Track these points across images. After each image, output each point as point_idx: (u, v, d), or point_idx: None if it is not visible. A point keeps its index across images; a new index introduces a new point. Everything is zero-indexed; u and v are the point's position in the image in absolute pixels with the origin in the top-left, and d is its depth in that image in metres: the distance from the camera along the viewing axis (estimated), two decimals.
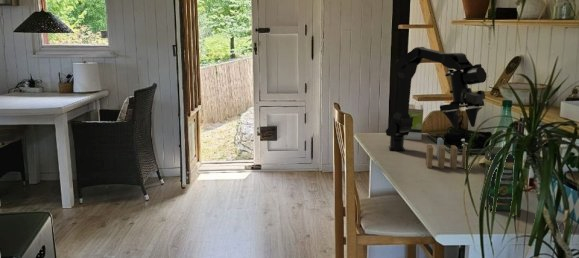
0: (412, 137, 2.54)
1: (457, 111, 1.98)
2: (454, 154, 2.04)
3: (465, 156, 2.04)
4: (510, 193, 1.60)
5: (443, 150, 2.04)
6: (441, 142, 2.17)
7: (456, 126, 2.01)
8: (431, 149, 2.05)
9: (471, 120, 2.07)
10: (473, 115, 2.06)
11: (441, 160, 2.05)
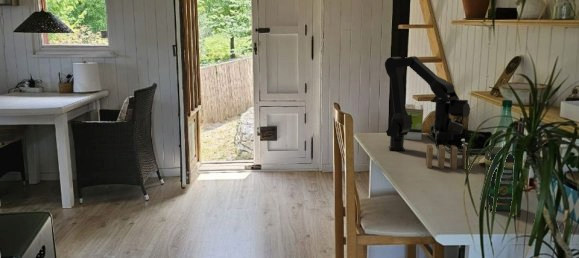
0: (412, 137, 2.54)
1: None
2: (453, 154, 2.04)
3: (465, 156, 2.04)
4: (510, 193, 1.60)
5: (443, 150, 2.04)
6: None
7: None
8: (431, 149, 2.05)
9: None
10: None
11: (441, 160, 2.05)
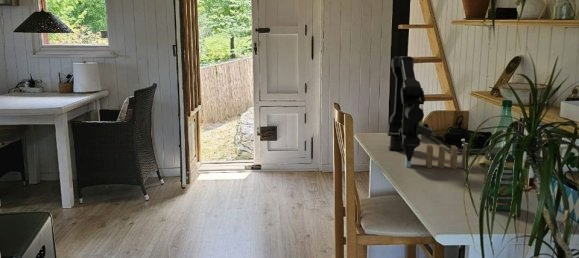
0: None
1: None
2: (454, 154, 2.04)
3: (465, 156, 2.04)
4: (510, 193, 1.60)
5: (443, 150, 2.04)
6: None
7: (410, 158, 2.04)
8: (431, 149, 2.05)
9: None
10: None
11: (441, 160, 2.05)
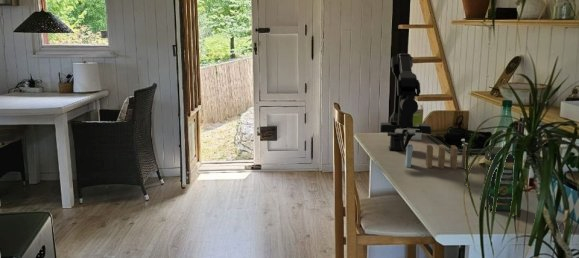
0: (412, 137, 2.54)
1: None
2: (454, 154, 2.04)
3: (465, 156, 2.04)
4: (510, 193, 1.60)
5: (443, 150, 2.04)
6: (410, 148, 2.05)
7: None
8: (431, 149, 2.05)
9: (404, 144, 2.08)
10: None
11: (441, 160, 2.05)
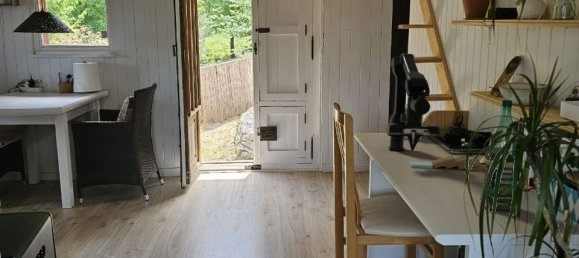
0: (412, 137, 2.54)
1: None
2: None
3: (483, 168, 2.04)
4: (510, 193, 1.60)
5: (464, 161, 2.04)
6: (431, 167, 2.06)
7: None
8: (453, 161, 2.04)
9: None
10: None
11: (454, 163, 2.05)
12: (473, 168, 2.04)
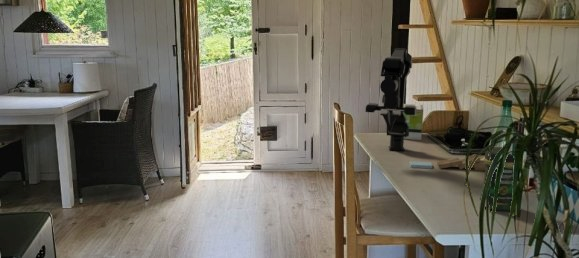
0: (412, 137, 2.54)
1: None
2: None
3: None
4: (510, 193, 1.60)
5: (477, 160, 2.03)
6: (430, 167, 2.06)
7: (391, 128, 2.11)
8: (458, 163, 2.04)
9: None
10: (389, 119, 2.11)
11: None
12: (479, 168, 2.04)
